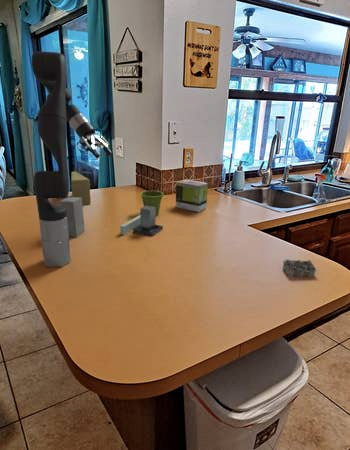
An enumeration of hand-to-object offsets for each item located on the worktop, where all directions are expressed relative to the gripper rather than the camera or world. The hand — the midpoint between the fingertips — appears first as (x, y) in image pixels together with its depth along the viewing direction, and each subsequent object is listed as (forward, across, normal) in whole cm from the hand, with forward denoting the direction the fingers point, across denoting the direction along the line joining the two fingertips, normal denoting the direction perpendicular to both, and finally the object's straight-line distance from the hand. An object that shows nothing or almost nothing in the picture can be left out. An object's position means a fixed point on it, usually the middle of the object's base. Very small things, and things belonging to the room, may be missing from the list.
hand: (104, 155), depth 147 cm
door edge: (+32, +4, +14) cm, 35 cm away
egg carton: (+85, -4, -38) cm, 93 cm away
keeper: (+37, +4, +9) cm, 38 cm away
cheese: (-4, +26, +50) cm, 57 cm away
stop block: (+37, +4, +9) cm, 38 cm away
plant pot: (+30, +25, +16) cm, 43 cm away
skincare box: (+18, -15, +28) cm, 37 cm away
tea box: (+40, +46, +6) cm, 62 cm away
